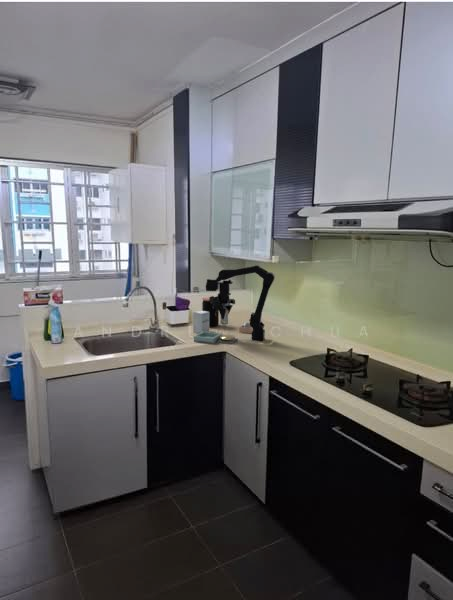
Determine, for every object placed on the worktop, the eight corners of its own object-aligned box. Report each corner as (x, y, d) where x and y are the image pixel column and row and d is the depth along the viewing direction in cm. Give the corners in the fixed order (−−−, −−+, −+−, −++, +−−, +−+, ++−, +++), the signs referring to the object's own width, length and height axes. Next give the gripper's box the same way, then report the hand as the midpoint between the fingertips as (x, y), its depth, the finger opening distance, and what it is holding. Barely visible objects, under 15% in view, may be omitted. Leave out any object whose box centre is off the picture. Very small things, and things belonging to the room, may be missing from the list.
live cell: (229, 323, 230) (229, 308, 229) (226, 324, 226) (226, 309, 224) (222, 322, 232) (222, 307, 230) (219, 324, 228) (219, 309, 226)
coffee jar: (218, 327, 256) (218, 299, 253) (201, 327, 256) (201, 299, 253) (218, 323, 267) (218, 297, 264) (202, 323, 267) (202, 297, 264)
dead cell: (250, 331, 245) (251, 322, 244) (248, 332, 241) (248, 323, 240) (244, 330, 246) (244, 321, 245) (242, 332, 243) (242, 323, 242)
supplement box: (201, 334, 239) (201, 313, 237) (192, 332, 244) (192, 312, 241) (209, 331, 245) (209, 311, 243) (200, 330, 249) (200, 310, 247)
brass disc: (236, 337, 226) (237, 335, 226) (231, 340, 218) (231, 339, 218) (223, 335, 229) (223, 334, 229) (217, 339, 222) (217, 337, 221)
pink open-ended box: (254, 331, 246) (254, 325, 245) (250, 334, 239) (250, 328, 239) (243, 330, 248) (243, 324, 248) (239, 333, 242) (239, 326, 241)
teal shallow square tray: (221, 338, 230) (221, 333, 229) (213, 343, 219) (213, 338, 218) (203, 336, 234) (203, 331, 234) (193, 341, 223) (193, 336, 223)
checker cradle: (237, 340, 227) (237, 337, 226) (231, 344, 218) (231, 341, 218) (223, 338, 230) (223, 335, 230) (216, 342, 222) (216, 339, 221)
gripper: (218, 288, 237) (218, 314, 240) (204, 292, 220) (204, 320, 223) (235, 289, 233) (235, 315, 235) (222, 294, 216) (222, 322, 219)
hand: (224, 318), depth 228 cm, fingers closed on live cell, 4 cm apart
